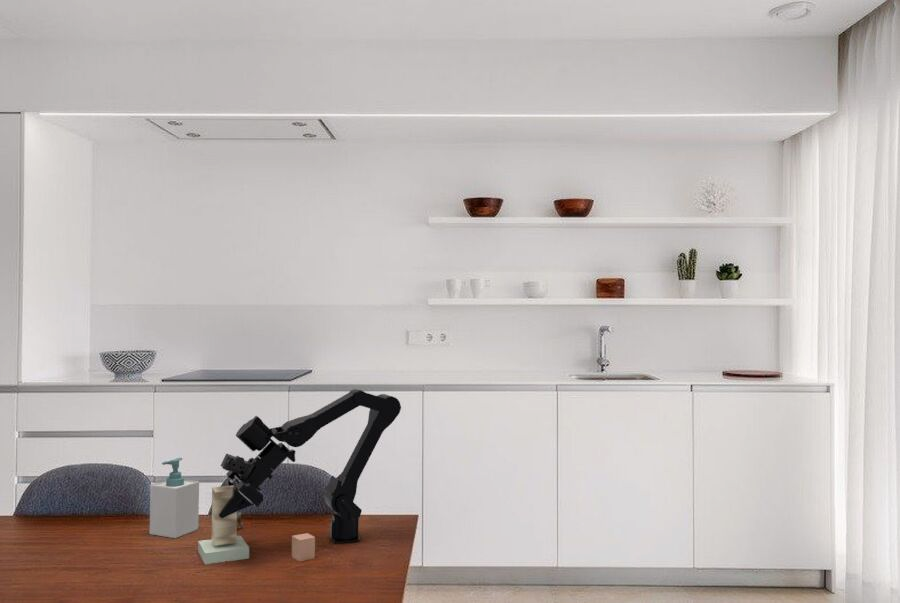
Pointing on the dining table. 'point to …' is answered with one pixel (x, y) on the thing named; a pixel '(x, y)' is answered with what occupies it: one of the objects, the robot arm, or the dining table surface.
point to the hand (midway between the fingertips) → (218, 514)
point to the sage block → (223, 551)
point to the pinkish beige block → (303, 547)
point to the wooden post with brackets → (239, 520)
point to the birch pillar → (227, 526)
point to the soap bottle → (174, 504)
